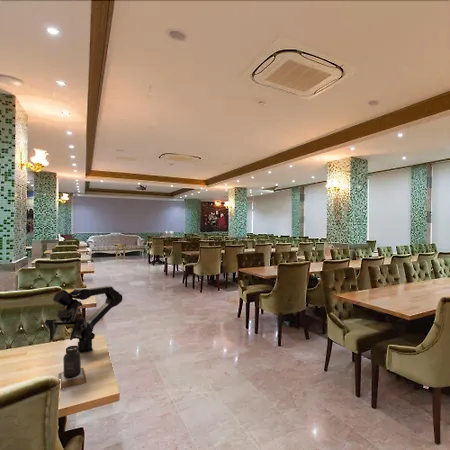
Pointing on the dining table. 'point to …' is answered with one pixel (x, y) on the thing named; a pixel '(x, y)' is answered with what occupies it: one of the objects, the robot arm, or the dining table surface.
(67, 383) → the walnut plinth
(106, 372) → the dining table surface
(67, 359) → the supplement bottle
